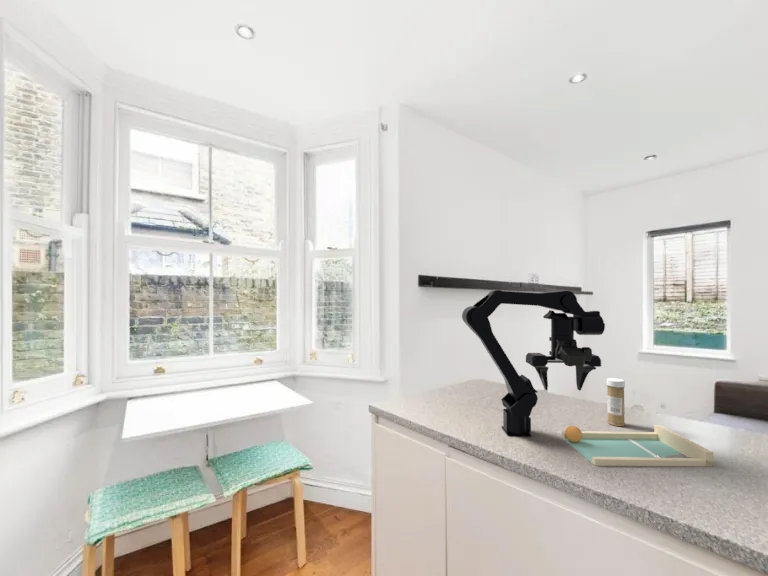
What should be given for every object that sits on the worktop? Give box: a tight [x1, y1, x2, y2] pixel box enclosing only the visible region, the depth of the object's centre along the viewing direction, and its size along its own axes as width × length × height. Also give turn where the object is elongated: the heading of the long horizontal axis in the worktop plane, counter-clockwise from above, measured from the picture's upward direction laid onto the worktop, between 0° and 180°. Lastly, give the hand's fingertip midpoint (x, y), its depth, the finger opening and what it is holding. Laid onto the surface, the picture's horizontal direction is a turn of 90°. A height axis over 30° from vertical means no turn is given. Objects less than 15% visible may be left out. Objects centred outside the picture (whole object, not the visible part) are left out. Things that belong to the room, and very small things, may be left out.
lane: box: [561, 424, 714, 467], centre depth 87 cm, size 26×16×4 cm, turn 88°
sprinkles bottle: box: [606, 377, 626, 427], centre depth 106 cm, size 5×5×14 cm
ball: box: [564, 425, 582, 442], centre depth 92 cm, size 4×4×4 cm
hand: (562, 389), depth 100 cm, fingers open, 9 cm apart
